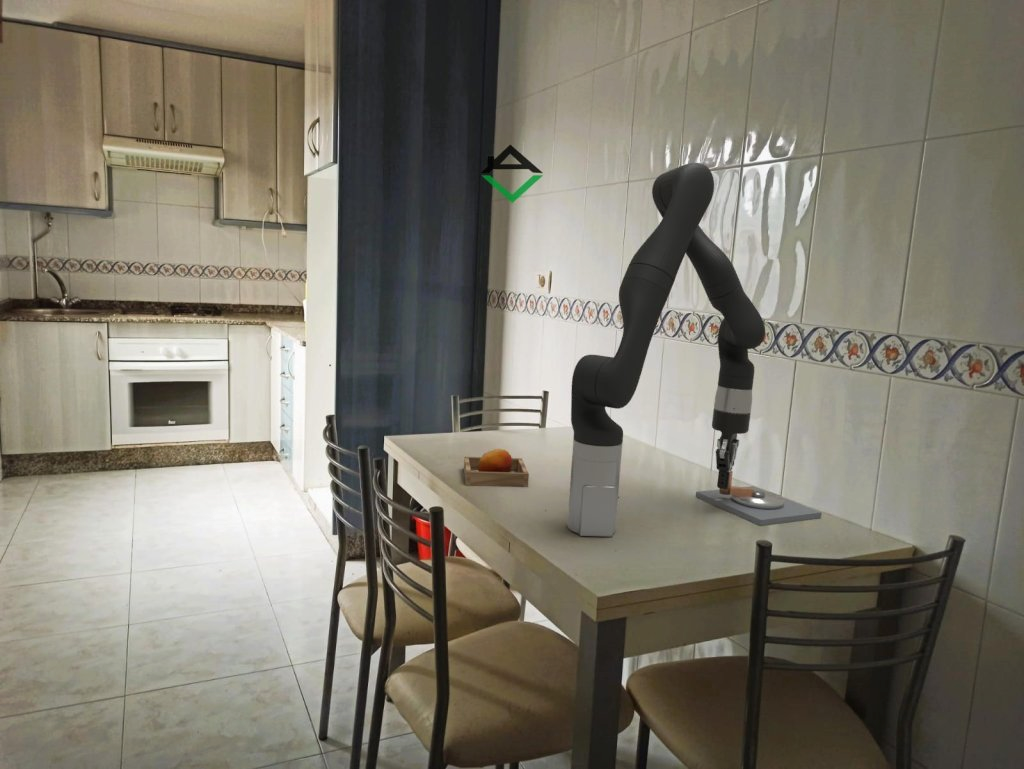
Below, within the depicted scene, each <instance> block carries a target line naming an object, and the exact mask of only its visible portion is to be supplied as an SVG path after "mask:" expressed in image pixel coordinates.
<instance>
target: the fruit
mask: <svg viewBox="0 0 1024 769" xmlns="http://www.w3.org/2000/svg"><path fill="white" fill-rule="evenodd" d="M480 457H481V459H480V461H479V464H478V470H477V471H480V472H512V471H511V468H512V458H513V457H512V455H511V454H510V453H509V451H507V450H505V449H501V448H495V449H494V448H493V449H492V450H488V451H487V452H484V453H483V454H482V456H480Z"/></svg>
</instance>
